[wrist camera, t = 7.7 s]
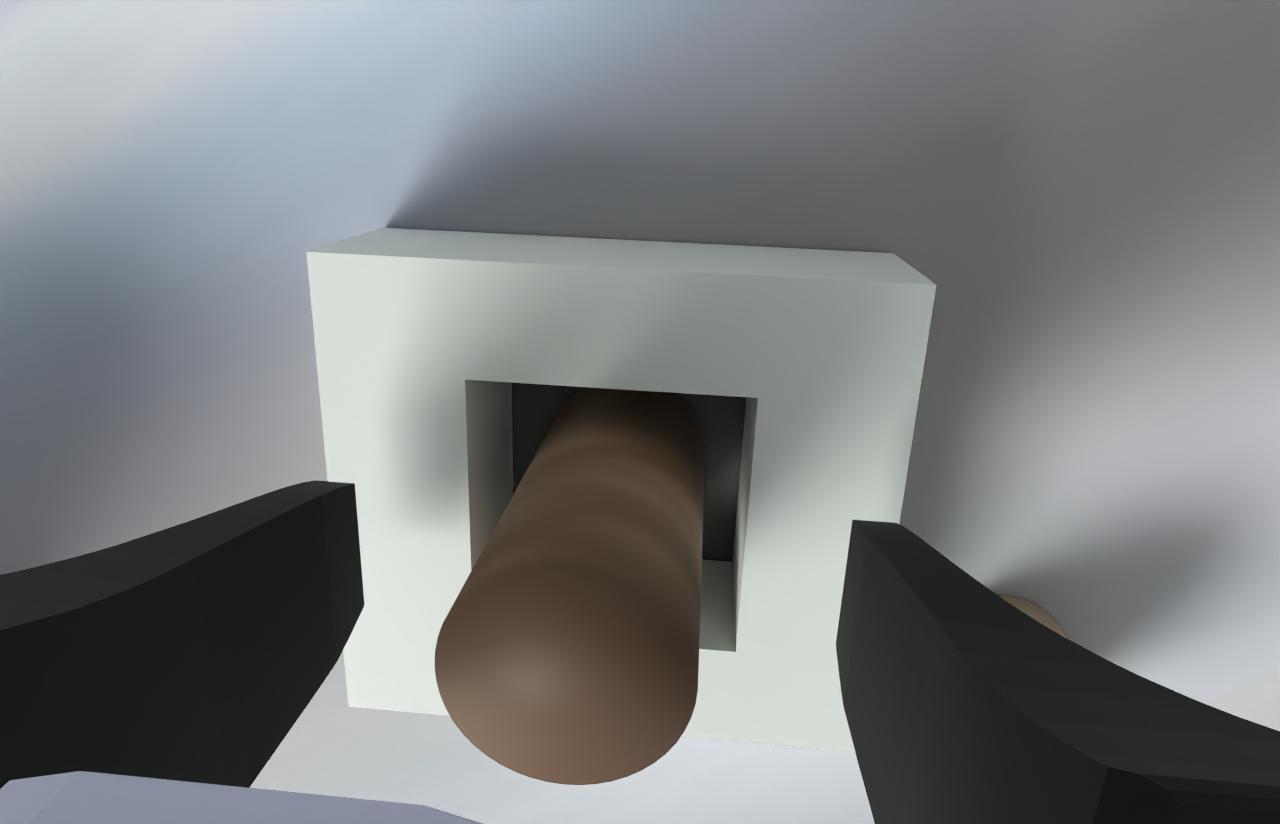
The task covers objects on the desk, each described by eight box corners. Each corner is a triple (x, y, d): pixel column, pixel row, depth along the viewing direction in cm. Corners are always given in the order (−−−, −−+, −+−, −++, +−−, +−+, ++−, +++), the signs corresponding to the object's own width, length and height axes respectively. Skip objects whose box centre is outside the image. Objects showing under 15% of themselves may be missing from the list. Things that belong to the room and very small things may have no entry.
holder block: (893, 252, 14) (936, 283, 12) (839, 648, 17) (863, 753, 14) (383, 227, 15) (306, 251, 12) (407, 613, 18) (348, 706, 15)
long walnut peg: (710, 380, 15) (707, 571, 9) (700, 526, 16) (689, 796, 10) (550, 369, 16) (429, 548, 9) (549, 515, 17) (439, 771, 10)
